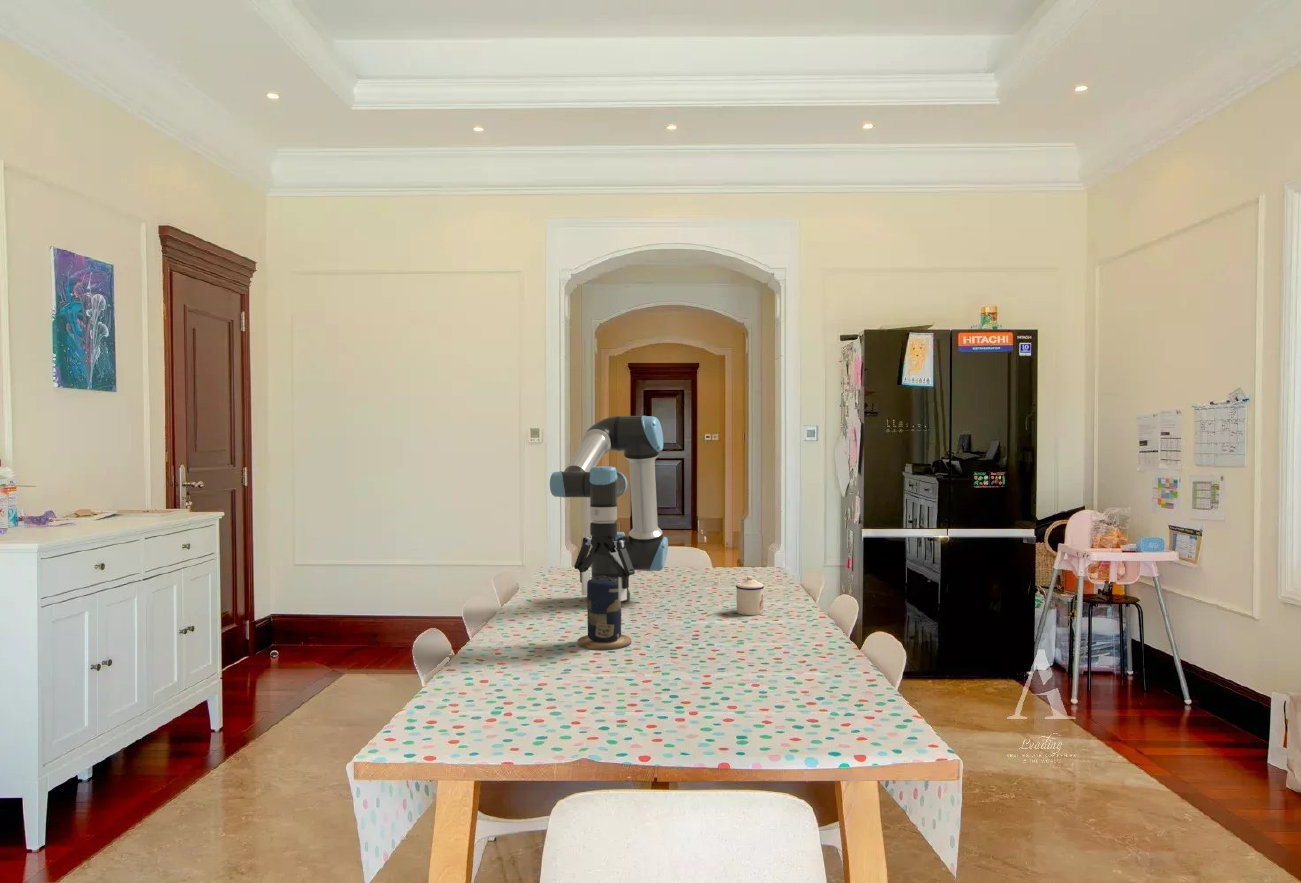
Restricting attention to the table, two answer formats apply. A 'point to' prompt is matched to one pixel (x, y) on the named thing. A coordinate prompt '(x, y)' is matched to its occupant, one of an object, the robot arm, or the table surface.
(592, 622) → the canister
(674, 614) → the table surface
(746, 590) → the teacup with lid
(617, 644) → the brown plate
